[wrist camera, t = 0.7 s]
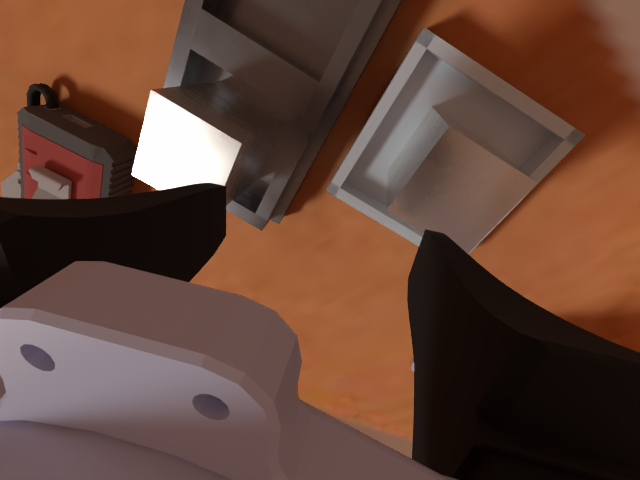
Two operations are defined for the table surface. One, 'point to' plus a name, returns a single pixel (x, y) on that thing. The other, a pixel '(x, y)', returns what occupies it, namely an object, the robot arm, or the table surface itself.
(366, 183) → the grey square tray
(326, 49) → the metal divided rack
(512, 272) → the table surface
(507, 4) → the table surface
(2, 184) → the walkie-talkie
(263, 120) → the seated billet
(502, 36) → the table surface
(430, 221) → the loose billet
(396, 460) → the robot arm
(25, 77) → the table surface
